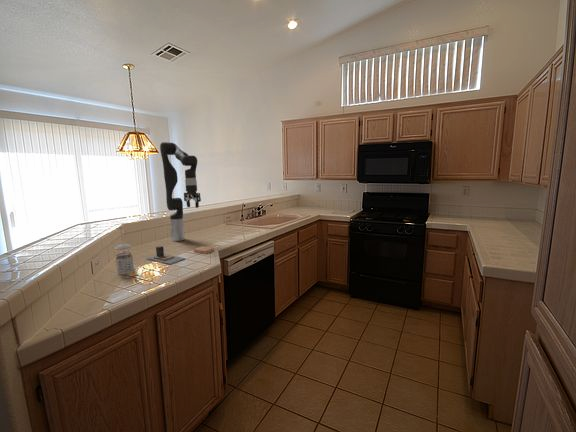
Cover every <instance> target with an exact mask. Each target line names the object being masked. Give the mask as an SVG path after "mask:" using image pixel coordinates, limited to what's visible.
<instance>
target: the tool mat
mask: <svg viewBox="0 0 576 432" xmlns="http://www.w3.org/2000/svg"><path fill="white" fill-rule="evenodd" d="M164 254H165V253H164ZM165 255H167V254H165ZM169 255H170V256H172V255H171V254H169ZM156 256H157V254H156V255H153V256H149V257H147V258H146V260H148V261H153V262H158V263H161V264H165V265H173V264H176V263H179V262H181V261H185V260H186V258H185V257H181V256H176V255H173V256H174V258H171V259H168V260H165V261H163V260H159V259H154V257H156Z"/></svg>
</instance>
